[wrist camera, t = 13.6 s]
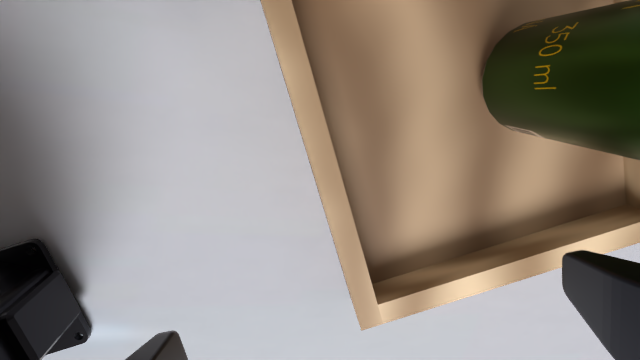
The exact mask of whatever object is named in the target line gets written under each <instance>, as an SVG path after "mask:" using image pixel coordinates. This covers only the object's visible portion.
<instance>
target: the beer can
mask: <svg viewBox="0 0 640 360" xmlns="http://www.w3.org/2000/svg"><path fill="white" fill-rule="evenodd" d="M481 94H482V96H483V99H484V102H485V104H486V107H487V109H488V111H489V112H490V114H491V115H492V116H493V117H494V118H495V119H496V120H497V122H498V123H499V124H501V125H503V126H505V127H507V128H508V129H510V130H512V131H516V132H520V133H525V134H529V135H533V136H538V137H542V138H546V139H550V140H555V141H559V142H563V143H568V144H572V145H576V146H581V147H585V148H589V149H593V150H598V151H602V152H606V153H611V154H615V155H619V156H623V157H628V158H632V159H636V160H640V0H629V1H624V2H620V3H615V4H610V5H606V6H601V7H596V8H592V9H587V10H583V11H578V12H573V13H569V14H564V15H560V16H555V17H550V18H546V19H541V20H537V21H532V22H527V23H524V24H522V25H520V26H518V27H517V28H515V29H513V30H511V31H509V32H508V33H507V34H506V35H505V36H504V37H503V38H502V39H501V40H500V41H499V42H498V43H497V44H496V45H495V46H494V48H493V49H492V51H491V53H490V55H489V56H488V58H487V60H486V62H485V64H484V67H483V71H482V76H481Z"/></svg>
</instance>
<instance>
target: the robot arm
mask: <svg viewBox="0 0 640 360" xmlns="http://www.w3.org/2000/svg"><path fill="white" fill-rule="evenodd" d="M31 247H34V248H35V249H36V251H37V252H34V251H32V250H31ZM562 284H563V289H564V292H565V294H566V296H567V297H568V298H569V300H570V301H571V302H572V304H573V305H574V307H575V308H576V309H577V311H578V312H579V313H580V315H581V316H582V317H583V319H584V320H585V321H586V323H587V324H588V325H589V327H590V328H591V329H592V331H593V332H594V333H595V335H596V336H597V337H598V339H599V340H600V342H601V343H602V344H603V345H604V347H605V348H606V349H607V351H608V352H609V353H610V354H611V355H612V357H613V358H614V359H615V360H640V263H637V262H632V261H628V260H624V259H620V258H616V257H612V256H607V255H603V254H599V253H595V252H591V251H586V250H578V251H573V252H568V253H565V254H564V255H563V257H562ZM78 332H79V333H82V334H83V336H81V335H79V334H78ZM90 335H91V329H90V327H89V325H88V324H87V322H86V320H85V318H84V316H83V314H82V313H81V309H80V307H79V305H78V303H77V302H76V300H75V298H74V296H73V294H72V292H71V290H70V289H69V287H68V285H67V283H66V281H65V279H64V277H63V276H62V274H61V273H60V272H59V270H58V268H57V266H56V264H55V263H54V261H53V259H52V257H51V255H50V253H49V251H48V250H47V248H46V246H45V244H44V243H43V242H42V241H40V240H37V239H32V240H28V241H25V242H22V243H18V244H15V245H12V246H9V247H5V248H2V249H0V360H42V358H43V357H44V356H45V355H47V354H51V353H54V352H57V351H60V350H63V349H67V348H70V347H73V346H76V345H79V344H83V343H85V342H86V341H87V339H88V338H89V337H90ZM125 360H188V358H187V355H186V353H185V350H184V347H183V344H182V342H181V339H180V336H179V334H178V333H177V332H176V331H168V332H163V333H159V334H157V335H155V336H154V337H153V338H152V339H150V340H149V341H148V342H147V343H145V344H144V345H143V346H142V347H140V348H139V349H138V350H137V351H135V352H134V353H133V354H132V355H130V356H129V357H128V358H127V359H125Z"/></svg>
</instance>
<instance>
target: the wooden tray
mask: <svg viewBox="0 0 640 360" xmlns="http://www.w3.org/2000/svg"><path fill="white" fill-rule="evenodd" d="M260 1H261V4H262V7H263V11H264V14H265V17H266V20H267V24H268V27H269V30H270V34H271V37H272V40H273V43H274V47H275V50H276V53H277V57H278V60H279V63H280V66H281V70H282V73H283V76H284V80H285V83H286V86H287V89H288V93H289V96H290V99H291V103H292V106H293V109H294V112H295V116H296V119H297V122H298V126H299V129H300V132H301V135H302V139H303V142H304V145H305V149H306V152H307V155H308V158H309V162H310V165H311V168H312V172H313V175H314V178H315V181H316V185H317V188H318V191H319V195H320V198H321V201H322V204H323V208H324V211H325V214H326V218H327V221H328V224H329V227H330V231H331V234H332V237H333V241H334V244H335V247H336V250H337V254H338V257H339V260H340V264H341V267H342V270H343V273H344V277H345V280H346V283H347V287H348V290H349V293H350V296H351V300H352V303H353V306H354V309H355V312H356V315H357V318H358V321H359V324H360V327H361V331H362V330H365V329H368V328H371V327H375V326H378V325H381V324H384V323H387V322H390V321H394V320H397V319H400V318H403V317H406V316H409V315H412V314H416V313H419V312H422V311H425V310H428V309H431V308H435V307H438V306H441V305H444V304H447V303H450V302H453V301H457V300H460V299H463V298H466V297H469V296H472V295H476V294H479V293H482V292H485V291H488V290H491V289H494V288H498V287H501V286H504V285H507V284H510V283H513V282H517V281H520V280H523V279H526V278H529V277H532V276H536V275H539V274H542V273H545V272H548V271H551V270H554V269H558V268H561V267H562V257H563V255H564V254H565V253H568V252H573V251H578V250H586V251H591V252H595V253H599V254H605V253H608V252H611V251H614V250H618V249H621V248H624V247H627V246H630V245H633V244H637V243H640V160H636V159H632V158H628V157H623V156H619V155H615V154H611V153H606V152H602V151H598V150H593V149H589V148H585V147H581V146H576V145H572V144H568V143H563V142H559V141H555V140H550V139H546V138H542V137H538V136H533V135H529V134H525V133H520V132H516V131H512V130H510V129H508V128H507V127H505V126H503V125H501V124H499V123H498V122H497V120H496V119H495V118H494V117H493V116H492V115H491V114H490V112H489V111H488V109H487V107H486V104H485V102H484V99H483V96H482V94H481V76H482V71H483V67H484V64H485V62H486V60H487V58H488V56H489V55H490V53H491V51H492V49H493V48H494V46H495V45H496V44H497V43H498V42H499V41H500V40H501V39H502V38H503V37H504V36H505V35H506V34H507V33H508V32H509V31H511V30H513V29H515V28H517V27H518V26H520V25H522V24H524V23H527V22H532V21H537V20H541V19H546V18H550V17H555V16H560V15H564V14H569V13H573V12H578V11H583V10H587V9H592V8H596V7H601V6H606V5H610V4H615V3H620V2H624V1H629V0H260Z"/></svg>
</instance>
